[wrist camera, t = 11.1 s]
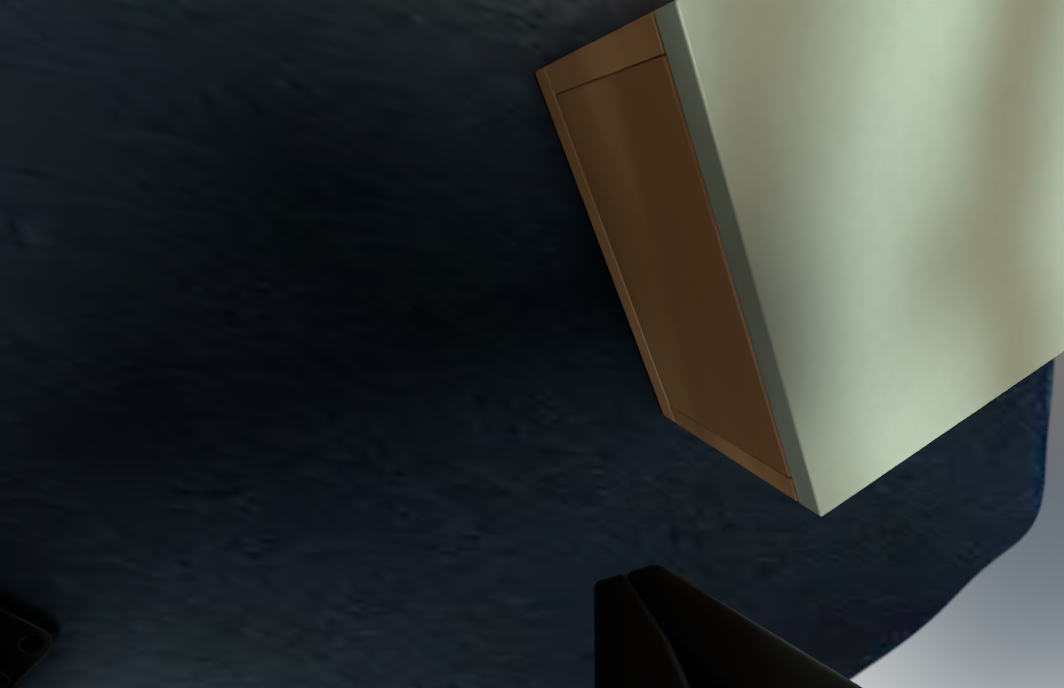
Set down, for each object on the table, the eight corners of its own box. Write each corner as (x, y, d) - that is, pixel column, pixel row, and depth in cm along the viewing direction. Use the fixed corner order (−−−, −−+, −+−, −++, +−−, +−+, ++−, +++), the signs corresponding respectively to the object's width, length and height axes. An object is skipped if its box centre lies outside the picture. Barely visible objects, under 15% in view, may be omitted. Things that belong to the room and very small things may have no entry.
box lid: (1198, -229, 15) (1243, -251, 14) (1193, 237, 20) (1228, 239, 19) (652, 11, 12) (675, 0, 11) (798, 503, 16) (821, 518, 16)
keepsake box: (921, -101, 21) (1177, -220, 15) (967, 233, 26) (1177, 248, 19) (533, 72, 18) (651, 11, 12) (663, 415, 23) (797, 502, 16)
